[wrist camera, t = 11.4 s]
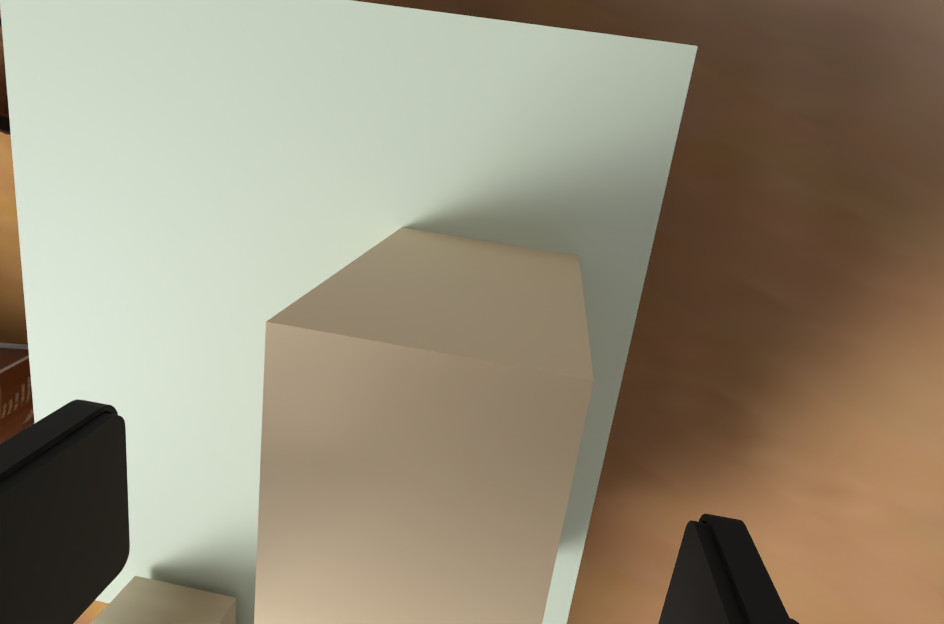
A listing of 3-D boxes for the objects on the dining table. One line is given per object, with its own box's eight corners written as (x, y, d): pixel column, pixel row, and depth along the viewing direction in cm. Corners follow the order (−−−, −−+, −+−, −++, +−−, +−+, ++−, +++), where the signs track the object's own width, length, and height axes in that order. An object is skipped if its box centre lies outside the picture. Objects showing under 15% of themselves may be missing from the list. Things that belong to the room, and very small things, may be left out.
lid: (686, 51, 14) (848, -33, 6) (549, 666, 19) (540, 1048, 11) (38, -35, 15) (-522, -196, 7) (77, 563, 20) (-226, 841, 12)
